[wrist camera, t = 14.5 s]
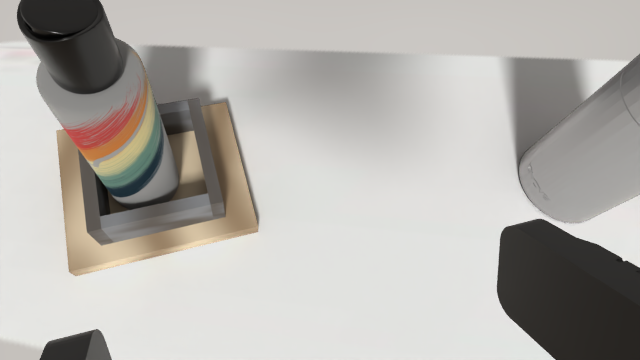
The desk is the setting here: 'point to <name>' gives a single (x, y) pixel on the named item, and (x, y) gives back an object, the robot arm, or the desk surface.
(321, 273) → the desk surface
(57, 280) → the desk surface
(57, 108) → the lotion bottle
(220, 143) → the socket board
